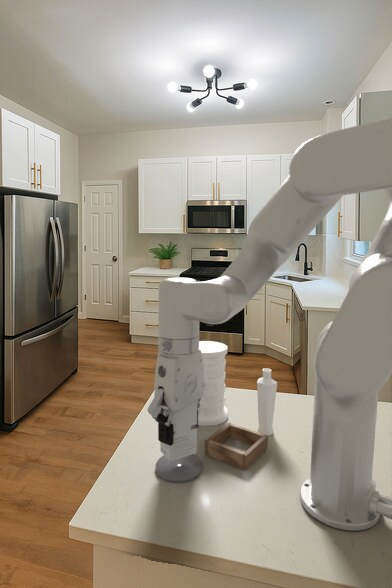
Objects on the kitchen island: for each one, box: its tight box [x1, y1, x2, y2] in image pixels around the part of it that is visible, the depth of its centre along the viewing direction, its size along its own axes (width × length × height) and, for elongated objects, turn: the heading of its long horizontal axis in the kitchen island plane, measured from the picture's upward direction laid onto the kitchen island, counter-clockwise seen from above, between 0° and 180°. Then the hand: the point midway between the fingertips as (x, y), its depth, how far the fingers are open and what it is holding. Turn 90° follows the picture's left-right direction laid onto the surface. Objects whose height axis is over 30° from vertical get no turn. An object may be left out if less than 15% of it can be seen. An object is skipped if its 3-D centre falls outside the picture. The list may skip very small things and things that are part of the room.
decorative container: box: [198, 340, 229, 427], centre depth 96 cm, size 12×12×18 cm
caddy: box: [204, 422, 269, 471], centre depth 80 cm, size 10×10×3 cm
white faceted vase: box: [256, 368, 278, 437], centre depth 87 cm, size 5×4×15 cm
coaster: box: [155, 454, 203, 484], centre depth 74 cm, size 9×9×1 cm
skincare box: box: [159, 401, 198, 461], centre depth 73 cm, size 6×4×12 cm
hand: (178, 433), depth 73 cm, fingers closed on skincare box, 7 cm apart
